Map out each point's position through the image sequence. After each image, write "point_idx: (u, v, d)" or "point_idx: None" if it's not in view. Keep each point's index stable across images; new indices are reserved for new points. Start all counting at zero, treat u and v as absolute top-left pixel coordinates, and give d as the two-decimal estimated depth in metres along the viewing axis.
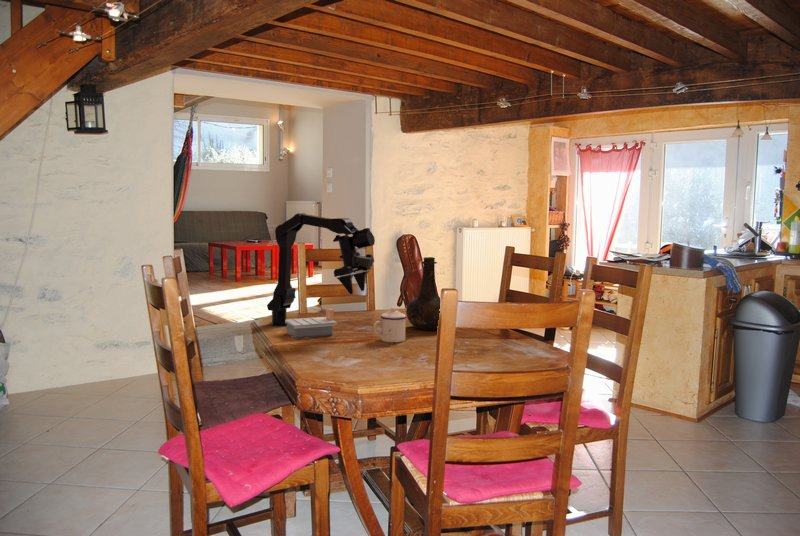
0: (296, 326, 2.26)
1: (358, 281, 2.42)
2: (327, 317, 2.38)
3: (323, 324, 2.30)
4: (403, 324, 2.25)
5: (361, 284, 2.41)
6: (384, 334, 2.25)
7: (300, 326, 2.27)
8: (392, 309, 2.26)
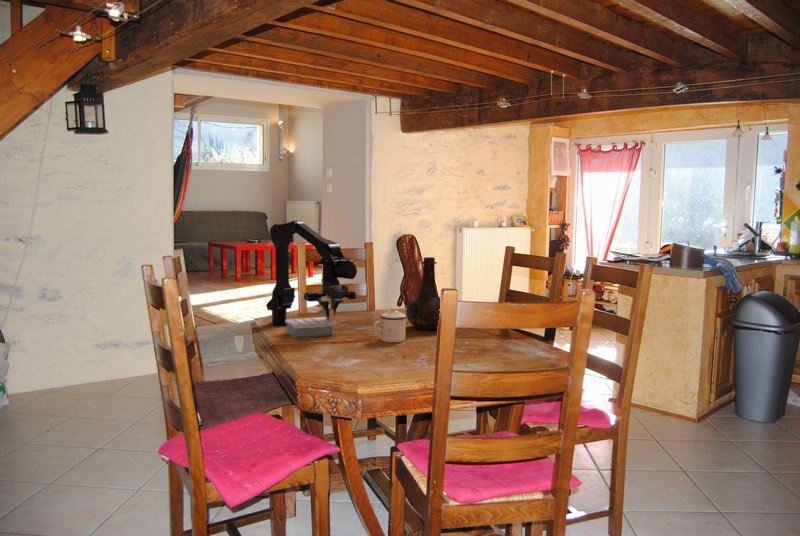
0: (296, 326, 2.26)
1: (331, 307, 2.39)
2: None
3: (323, 324, 2.30)
4: (403, 324, 2.25)
5: None
6: (384, 334, 2.25)
7: (300, 326, 2.27)
8: (392, 309, 2.26)
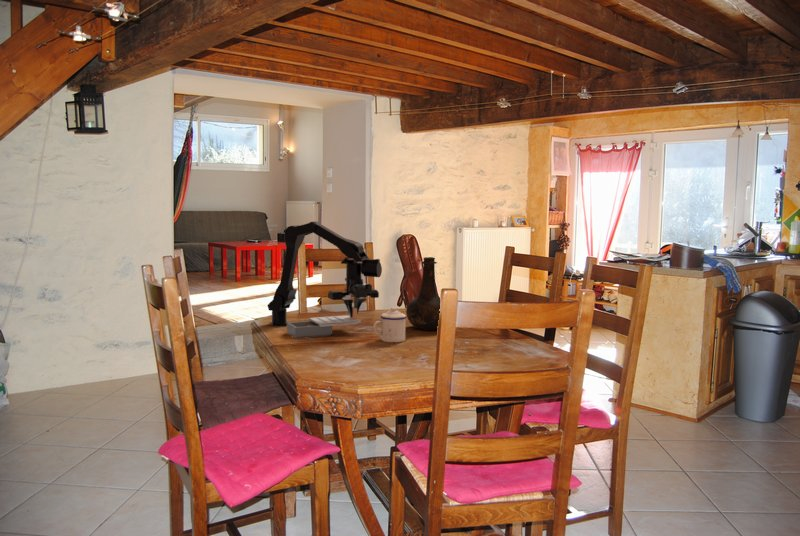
0: (321, 324, 2.30)
1: (354, 306, 2.43)
2: None
3: (347, 322, 2.35)
4: (403, 324, 2.25)
5: None
6: (384, 334, 2.25)
7: (325, 324, 2.31)
8: (392, 309, 2.26)
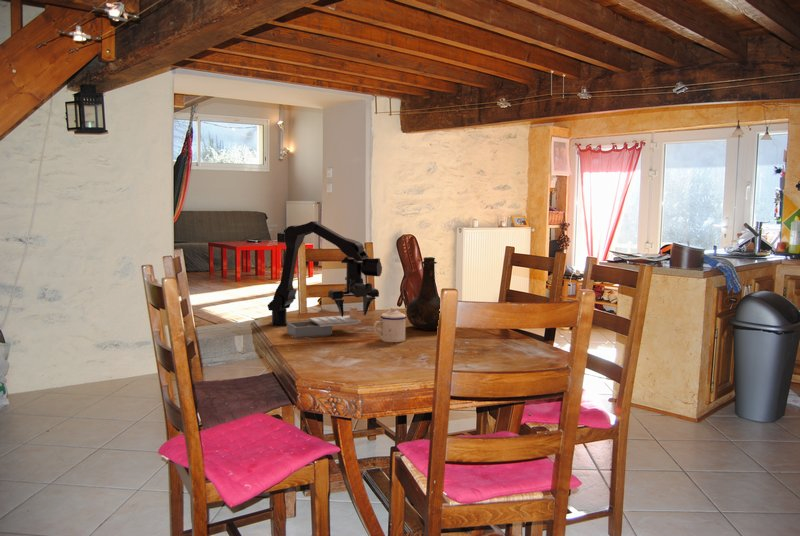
0: (321, 324, 2.30)
1: (363, 304, 2.45)
2: (350, 315, 2.42)
3: (347, 322, 2.35)
4: (403, 324, 2.25)
5: (365, 308, 2.44)
6: (384, 334, 2.25)
7: (325, 324, 2.31)
8: (392, 309, 2.26)
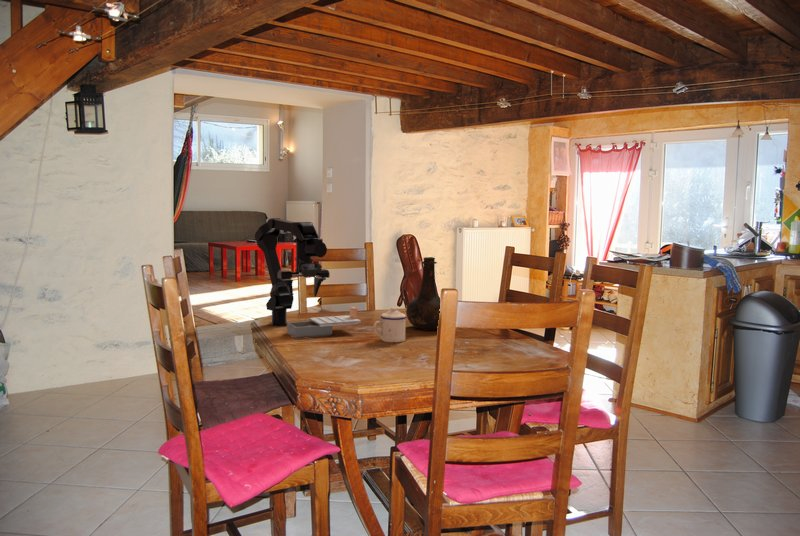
0: (321, 324, 2.30)
1: (314, 285, 2.42)
2: (350, 315, 2.42)
3: (347, 322, 2.35)
4: (403, 324, 2.25)
5: (315, 289, 2.41)
6: (384, 334, 2.25)
7: (325, 324, 2.31)
8: (392, 309, 2.26)
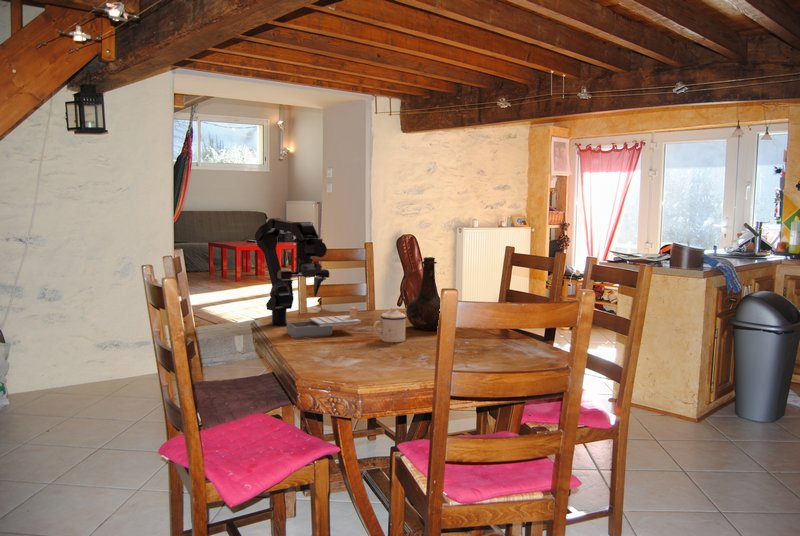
0: (321, 324, 2.30)
1: (314, 285, 2.42)
2: (350, 315, 2.42)
3: (347, 322, 2.35)
4: (403, 324, 2.25)
5: (315, 289, 2.41)
6: (384, 334, 2.25)
7: (325, 324, 2.31)
8: (392, 309, 2.26)
